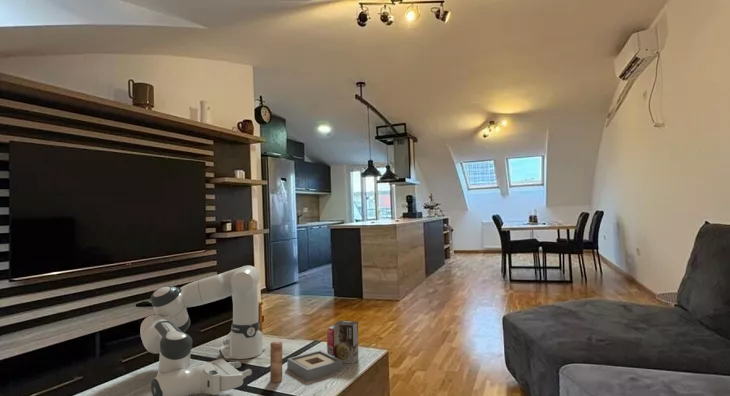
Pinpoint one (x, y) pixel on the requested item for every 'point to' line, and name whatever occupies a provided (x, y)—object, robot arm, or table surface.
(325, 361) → the peg box
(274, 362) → the peg
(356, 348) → the coffee box
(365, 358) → the table surface
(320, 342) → the table surface
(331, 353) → the soda can
